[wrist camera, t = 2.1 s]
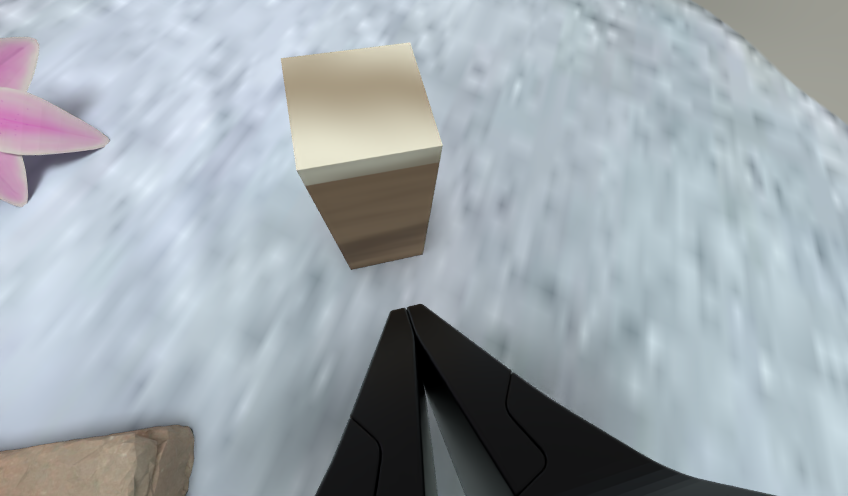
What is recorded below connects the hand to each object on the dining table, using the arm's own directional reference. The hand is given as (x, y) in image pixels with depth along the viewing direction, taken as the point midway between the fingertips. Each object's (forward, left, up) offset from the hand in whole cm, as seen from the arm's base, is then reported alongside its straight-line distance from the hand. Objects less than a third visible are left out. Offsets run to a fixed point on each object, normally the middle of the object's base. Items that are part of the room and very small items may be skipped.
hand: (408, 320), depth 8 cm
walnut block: (+7, -5, -13) cm, 15 cm away
